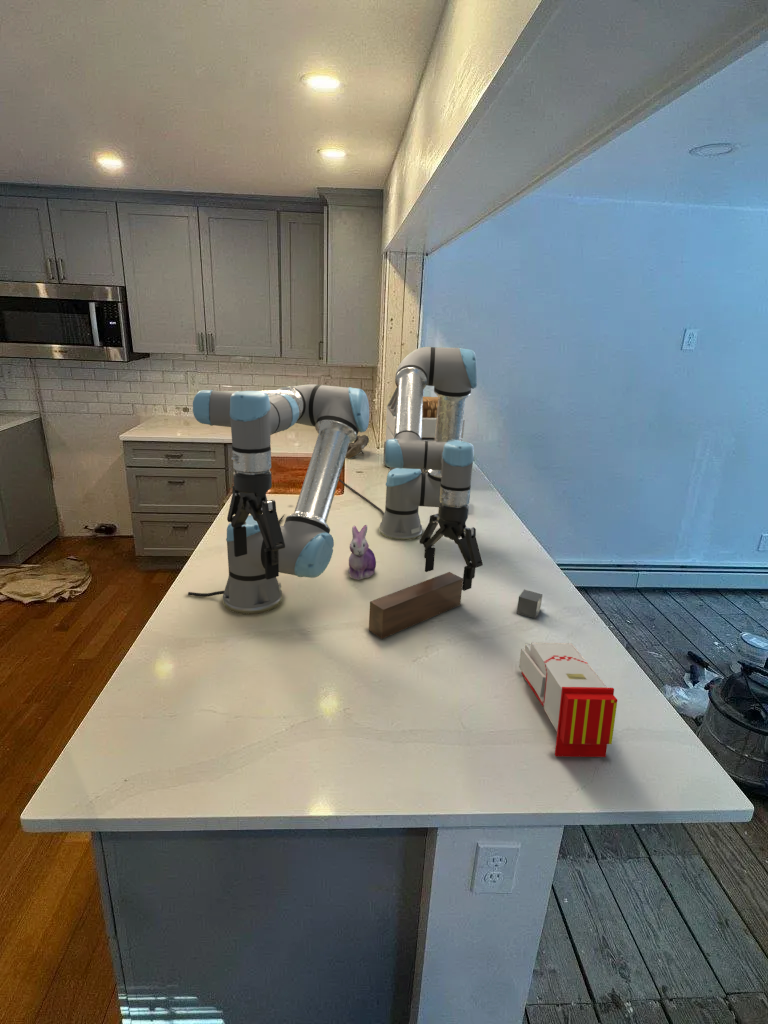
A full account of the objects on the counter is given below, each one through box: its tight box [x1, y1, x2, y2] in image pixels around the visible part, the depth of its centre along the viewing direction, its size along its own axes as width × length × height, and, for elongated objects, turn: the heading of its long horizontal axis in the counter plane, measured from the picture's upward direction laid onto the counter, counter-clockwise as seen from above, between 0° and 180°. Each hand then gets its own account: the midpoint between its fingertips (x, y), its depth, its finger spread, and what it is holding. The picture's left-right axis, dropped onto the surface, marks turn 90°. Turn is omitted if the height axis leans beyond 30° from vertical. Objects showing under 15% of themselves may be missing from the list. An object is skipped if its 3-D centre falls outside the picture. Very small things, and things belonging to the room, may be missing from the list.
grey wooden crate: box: [383, 387, 465, 472], centre depth 268 cm, size 34×33×41 cm
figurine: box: [347, 524, 377, 580], centre depth 166 cm, size 9×10×15 cm
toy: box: [518, 642, 618, 758], centre depth 113 cm, size 12×13×30 cm
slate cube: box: [516, 588, 543, 619], centre depth 151 cm, size 5×5×5 cm
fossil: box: [345, 434, 370, 459], centre depth 303 cm, size 22×10×15 cm
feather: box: [278, 514, 286, 525], centre depth 209 cm, size 2×28×2 cm
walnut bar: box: [368, 571, 463, 640], centre depth 145 cm, size 5×28×8 cm, turn 131°
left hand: (255, 565), depth 121 cm, fingers open, 13 cm apart
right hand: (447, 579), depth 150 cm, fingers open, 13 cm apart
